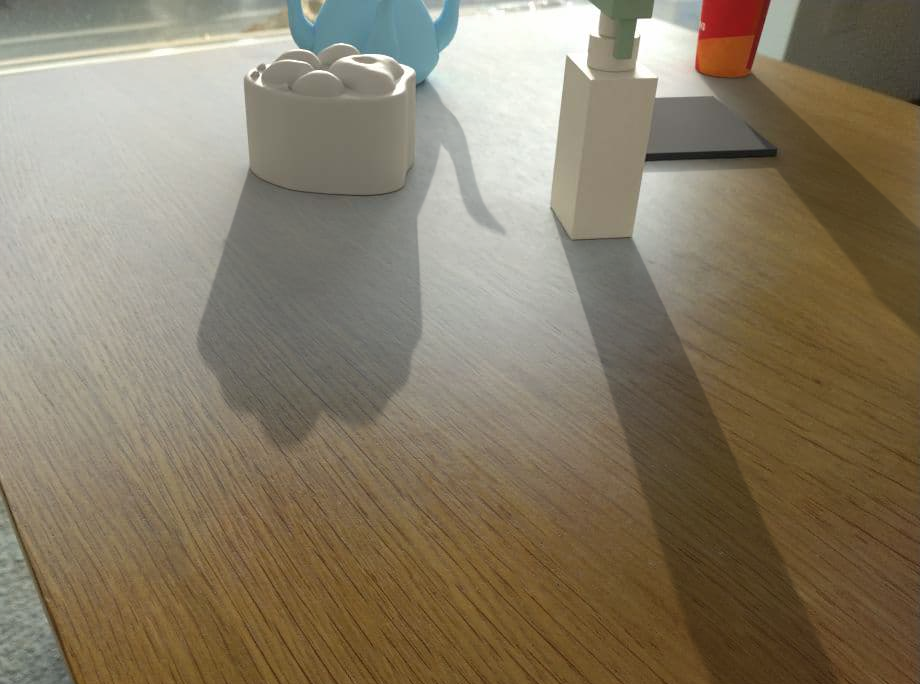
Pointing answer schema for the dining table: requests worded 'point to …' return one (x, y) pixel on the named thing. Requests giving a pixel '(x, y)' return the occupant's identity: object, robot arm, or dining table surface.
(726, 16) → the paper cup
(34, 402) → the dining table surface
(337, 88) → the lumpy-topped squat cylinder
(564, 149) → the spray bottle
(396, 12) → the teapot
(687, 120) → the mat
